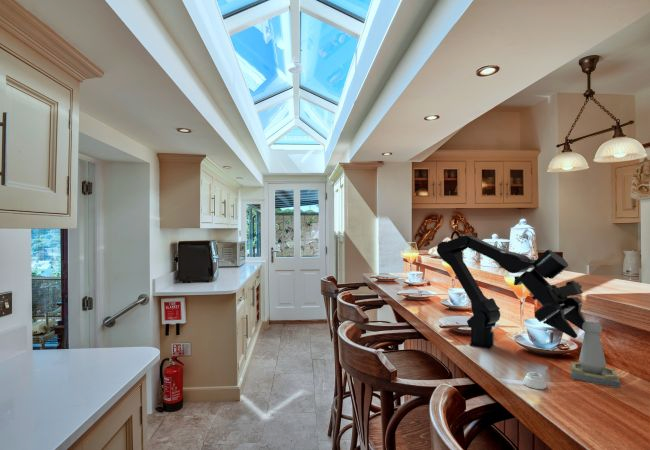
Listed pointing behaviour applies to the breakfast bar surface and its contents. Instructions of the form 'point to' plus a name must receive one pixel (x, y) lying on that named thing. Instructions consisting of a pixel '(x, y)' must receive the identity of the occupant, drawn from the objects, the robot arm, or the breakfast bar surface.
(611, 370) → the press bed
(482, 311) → the robot arm
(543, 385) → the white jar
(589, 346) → the salt shaker
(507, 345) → the breakfast bar surface
